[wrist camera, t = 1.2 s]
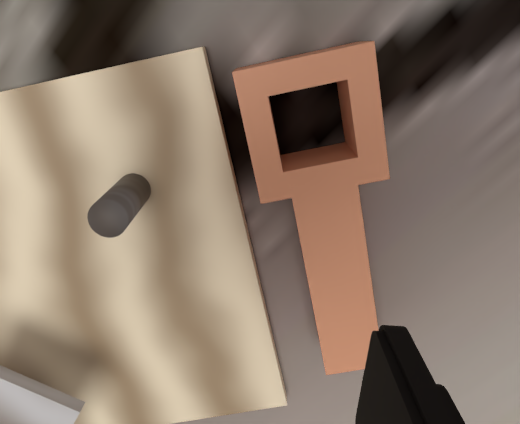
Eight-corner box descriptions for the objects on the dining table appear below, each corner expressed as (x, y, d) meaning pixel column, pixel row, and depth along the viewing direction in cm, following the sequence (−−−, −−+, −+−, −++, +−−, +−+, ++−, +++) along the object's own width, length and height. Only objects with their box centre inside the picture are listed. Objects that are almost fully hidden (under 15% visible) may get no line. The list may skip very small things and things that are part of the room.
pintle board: (204, 46, 26) (184, 47, 19) (286, 393, 34) (291, 476, 27) (-149, 125, 27) (-280, 151, 21) (12, 437, 36) (-45, 525, 29)
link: (236, 68, 26) (232, 72, 22) (358, 41, 25) (374, 41, 22) (295, 340, 32) (299, 379, 29) (393, 324, 32) (410, 361, 28)
